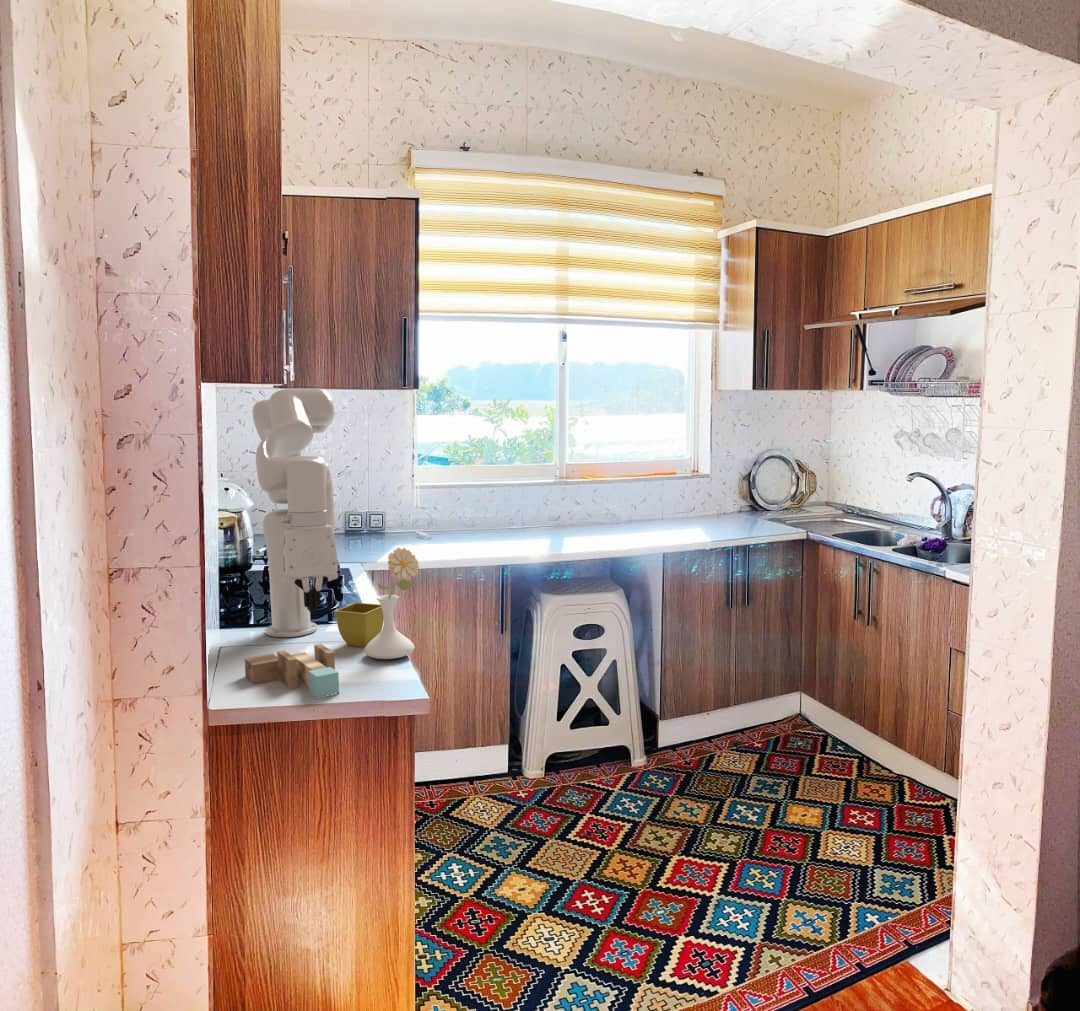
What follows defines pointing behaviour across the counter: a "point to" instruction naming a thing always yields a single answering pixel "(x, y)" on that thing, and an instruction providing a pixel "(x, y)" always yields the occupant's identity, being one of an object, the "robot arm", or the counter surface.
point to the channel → (289, 664)
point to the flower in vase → (389, 638)
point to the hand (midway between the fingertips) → (312, 609)
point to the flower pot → (359, 623)
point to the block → (323, 682)
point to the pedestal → (261, 668)
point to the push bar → (306, 666)
